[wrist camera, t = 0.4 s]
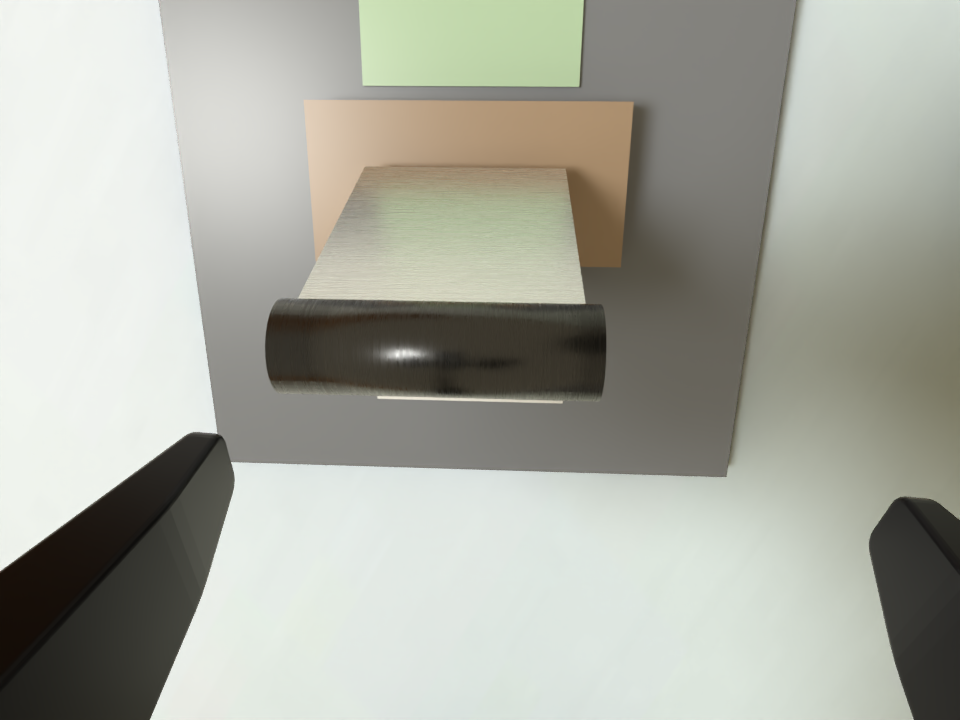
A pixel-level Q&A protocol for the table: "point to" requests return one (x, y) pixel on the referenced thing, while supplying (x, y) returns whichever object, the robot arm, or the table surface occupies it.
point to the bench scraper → (445, 293)
